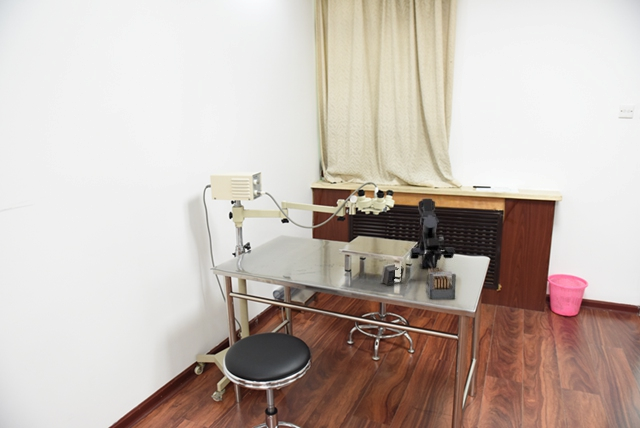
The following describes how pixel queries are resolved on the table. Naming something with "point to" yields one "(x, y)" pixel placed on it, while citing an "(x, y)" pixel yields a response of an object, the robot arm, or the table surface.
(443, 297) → the grey open frame
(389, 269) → the electrical switch
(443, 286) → the heat-sink block
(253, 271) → the table surface
